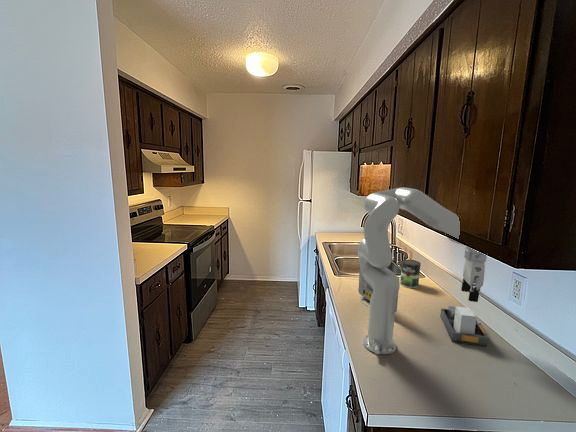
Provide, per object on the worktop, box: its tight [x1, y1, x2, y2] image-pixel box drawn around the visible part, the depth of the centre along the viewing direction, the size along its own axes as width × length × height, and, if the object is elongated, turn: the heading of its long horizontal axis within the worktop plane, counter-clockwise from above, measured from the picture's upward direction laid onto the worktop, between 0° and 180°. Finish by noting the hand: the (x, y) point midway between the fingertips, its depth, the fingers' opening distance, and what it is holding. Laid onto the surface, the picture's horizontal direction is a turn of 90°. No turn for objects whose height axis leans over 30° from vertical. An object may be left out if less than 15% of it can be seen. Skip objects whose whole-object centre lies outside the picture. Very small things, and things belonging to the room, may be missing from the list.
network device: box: [357, 266, 400, 313], centre depth 151 cm, size 26×9×20 cm, turn 22°
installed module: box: [447, 305, 457, 320], centre depth 136 cm, size 6×8×6 cm
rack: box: [439, 308, 489, 348], centre depth 131 cm, size 22×13×4 cm, turn 165°
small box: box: [453, 306, 477, 335], centre depth 126 cm, size 8×6×10 cm
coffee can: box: [399, 259, 422, 289], centre depth 179 cm, size 10×10×14 cm
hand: (469, 296), depth 123 cm, fingers open, 9 cm apart
